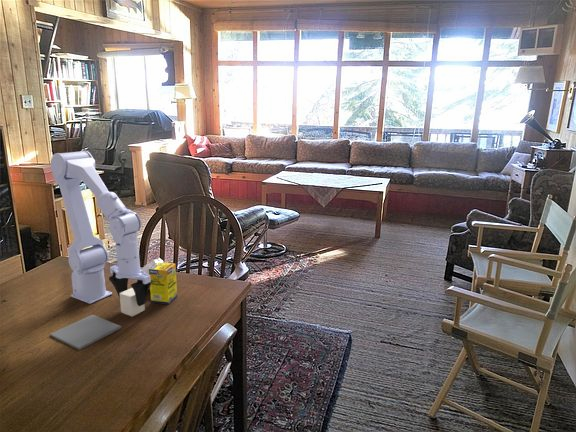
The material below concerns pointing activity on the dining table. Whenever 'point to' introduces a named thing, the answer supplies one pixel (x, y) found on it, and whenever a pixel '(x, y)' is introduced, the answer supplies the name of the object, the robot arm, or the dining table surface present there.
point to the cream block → (130, 303)
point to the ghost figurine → (146, 267)
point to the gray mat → (85, 331)
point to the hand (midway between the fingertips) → (132, 301)
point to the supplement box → (163, 283)
